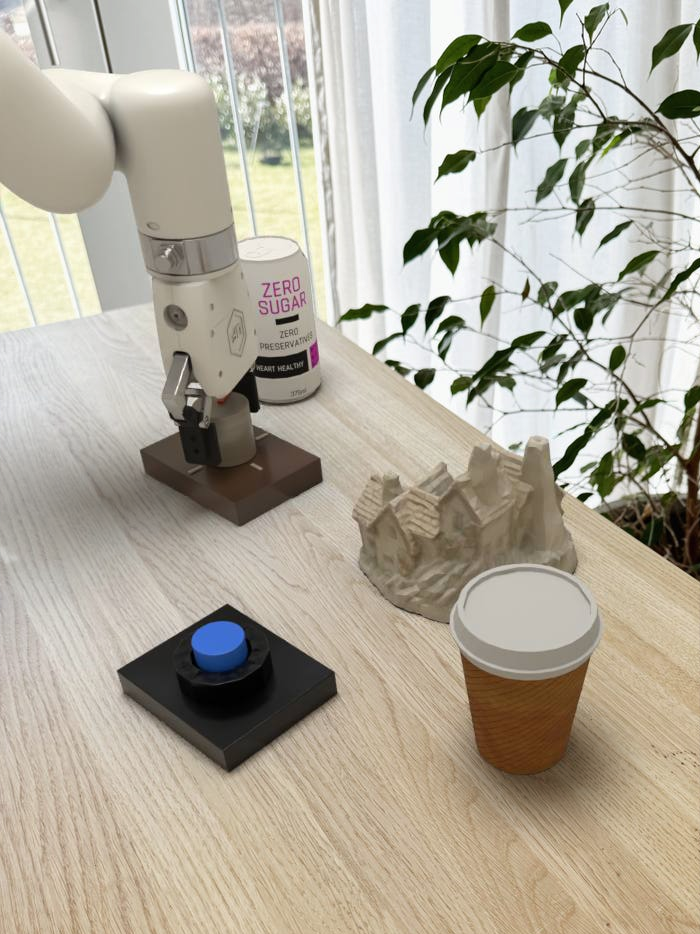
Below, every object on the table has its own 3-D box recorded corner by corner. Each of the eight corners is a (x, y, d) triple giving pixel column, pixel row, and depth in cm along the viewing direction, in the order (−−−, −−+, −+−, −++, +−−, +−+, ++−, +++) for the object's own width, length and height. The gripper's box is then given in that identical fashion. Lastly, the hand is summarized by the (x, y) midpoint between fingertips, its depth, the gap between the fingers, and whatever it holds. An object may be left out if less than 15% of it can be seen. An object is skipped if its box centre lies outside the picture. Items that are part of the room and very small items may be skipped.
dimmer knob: (246, 469, 91) (236, 416, 88) (193, 464, 92) (182, 412, 88) (263, 441, 95) (255, 390, 91) (213, 437, 95) (203, 386, 92)
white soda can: (278, 364, 113) (258, 227, 103) (337, 382, 109) (322, 242, 100) (229, 394, 107) (203, 252, 98) (289, 413, 104) (269, 269, 94)
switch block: (123, 692, 73) (109, 651, 70) (231, 624, 79) (223, 584, 76) (228, 773, 67) (218, 731, 64) (338, 693, 73) (332, 652, 70)
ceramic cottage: (604, 564, 84) (605, 399, 74) (456, 657, 76) (436, 487, 67) (481, 498, 93) (467, 344, 84) (338, 575, 86) (305, 415, 76)
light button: (185, 658, 70) (180, 639, 69) (226, 632, 72) (222, 614, 71) (217, 681, 68) (213, 662, 67) (258, 654, 71) (255, 635, 69)
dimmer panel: (145, 472, 95) (138, 448, 94) (228, 432, 101) (223, 408, 99) (239, 527, 89) (235, 501, 87) (323, 480, 94) (320, 456, 93)
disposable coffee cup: (424, 734, 70) (417, 599, 62) (526, 674, 74) (532, 541, 66) (515, 817, 64) (520, 680, 56) (619, 746, 69) (638, 611, 61)
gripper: (192, 292, 74) (229, 490, 85) (270, 214, 87) (294, 395, 98) (96, 284, 75) (146, 481, 86) (188, 209, 88) (221, 389, 99)
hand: (224, 435), depth 92 cm, fingers open, 9 cm apart
